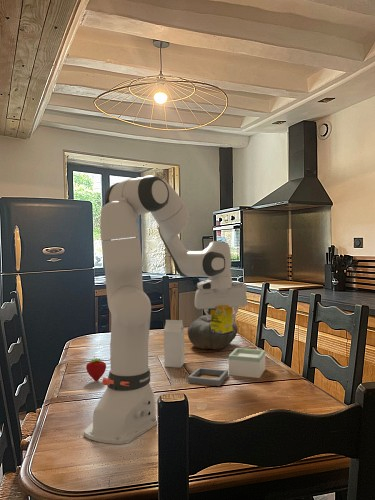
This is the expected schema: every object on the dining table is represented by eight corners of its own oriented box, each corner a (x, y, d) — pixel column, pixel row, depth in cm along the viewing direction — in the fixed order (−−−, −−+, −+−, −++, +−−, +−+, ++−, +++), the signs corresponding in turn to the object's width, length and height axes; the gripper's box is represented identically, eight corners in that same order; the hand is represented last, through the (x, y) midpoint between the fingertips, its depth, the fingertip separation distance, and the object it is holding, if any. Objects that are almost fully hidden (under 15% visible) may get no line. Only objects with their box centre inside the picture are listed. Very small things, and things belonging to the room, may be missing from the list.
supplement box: (210, 333, 154) (209, 305, 153) (221, 330, 158) (220, 303, 158) (222, 335, 149) (221, 306, 149) (232, 332, 154) (231, 304, 153)
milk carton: (181, 367, 165) (180, 322, 165) (164, 367, 166) (163, 321, 166) (184, 362, 172) (184, 318, 172) (168, 362, 173) (167, 318, 173)
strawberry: (104, 384, 147) (103, 356, 147) (84, 383, 147) (83, 357, 147) (108, 378, 153) (107, 352, 153) (88, 378, 153) (88, 352, 153)
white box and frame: (252, 390, 139) (252, 368, 139) (188, 382, 148) (187, 362, 147) (265, 368, 162) (265, 350, 162) (209, 363, 171) (208, 345, 171)
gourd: (239, 335, 211) (235, 303, 208) (240, 356, 186) (235, 320, 183) (192, 339, 214) (187, 308, 211) (187, 360, 189) (182, 326, 186)
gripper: (244, 281, 158) (245, 316, 158) (193, 283, 155) (194, 319, 155) (248, 282, 152) (250, 319, 152) (195, 285, 149) (196, 322, 149)
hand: (221, 319), depth 154 cm, fingers closed on supplement box, 8 cm apart
